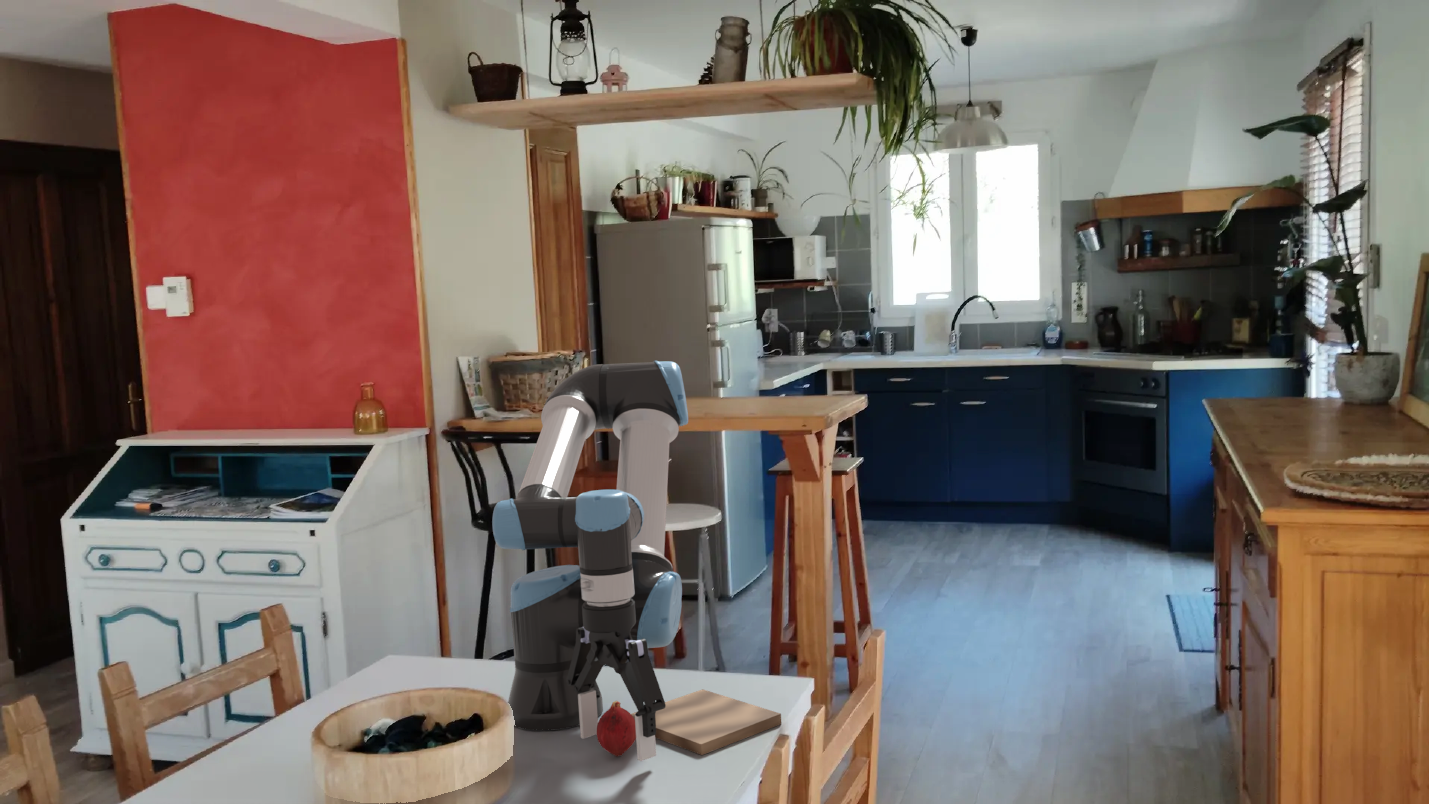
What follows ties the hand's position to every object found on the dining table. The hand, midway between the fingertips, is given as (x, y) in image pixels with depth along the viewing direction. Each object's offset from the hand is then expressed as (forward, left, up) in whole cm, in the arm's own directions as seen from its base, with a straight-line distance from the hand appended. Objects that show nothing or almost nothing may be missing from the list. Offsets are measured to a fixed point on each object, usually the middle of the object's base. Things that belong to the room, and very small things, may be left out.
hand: (617, 746), depth 166 cm
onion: (0, 0, -2) cm, 2 cm away
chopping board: (0, +16, -2) cm, 16 cm away
